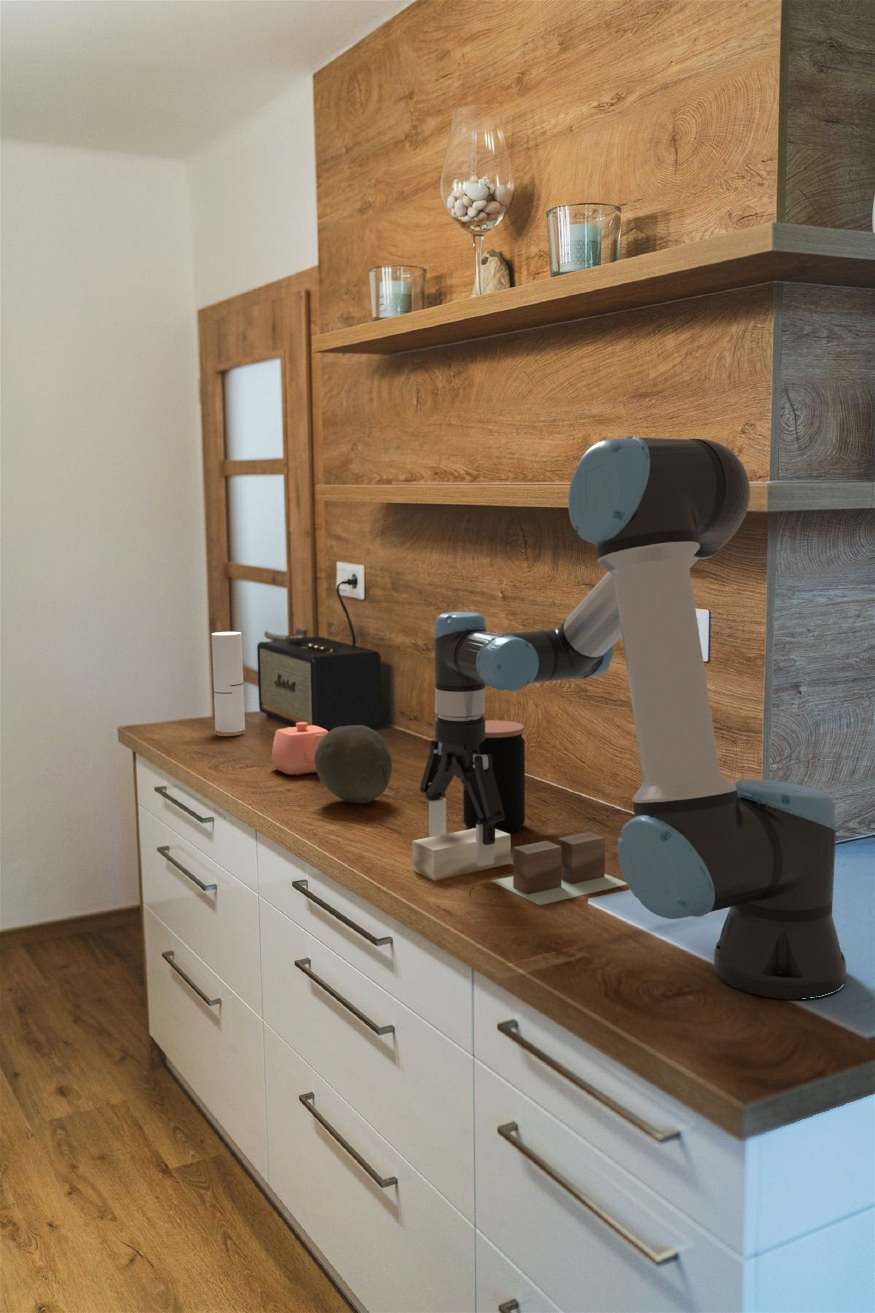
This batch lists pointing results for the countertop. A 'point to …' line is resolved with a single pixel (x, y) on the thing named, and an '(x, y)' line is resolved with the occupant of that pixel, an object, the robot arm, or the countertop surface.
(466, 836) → the lintel
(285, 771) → the teapot
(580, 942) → the countertop surface
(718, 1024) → the countertop surface
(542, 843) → the post
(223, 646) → the cylindrical container
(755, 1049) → the countertop surface
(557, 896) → the board
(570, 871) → the post
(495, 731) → the coffee jar
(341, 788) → the dark grey ball
